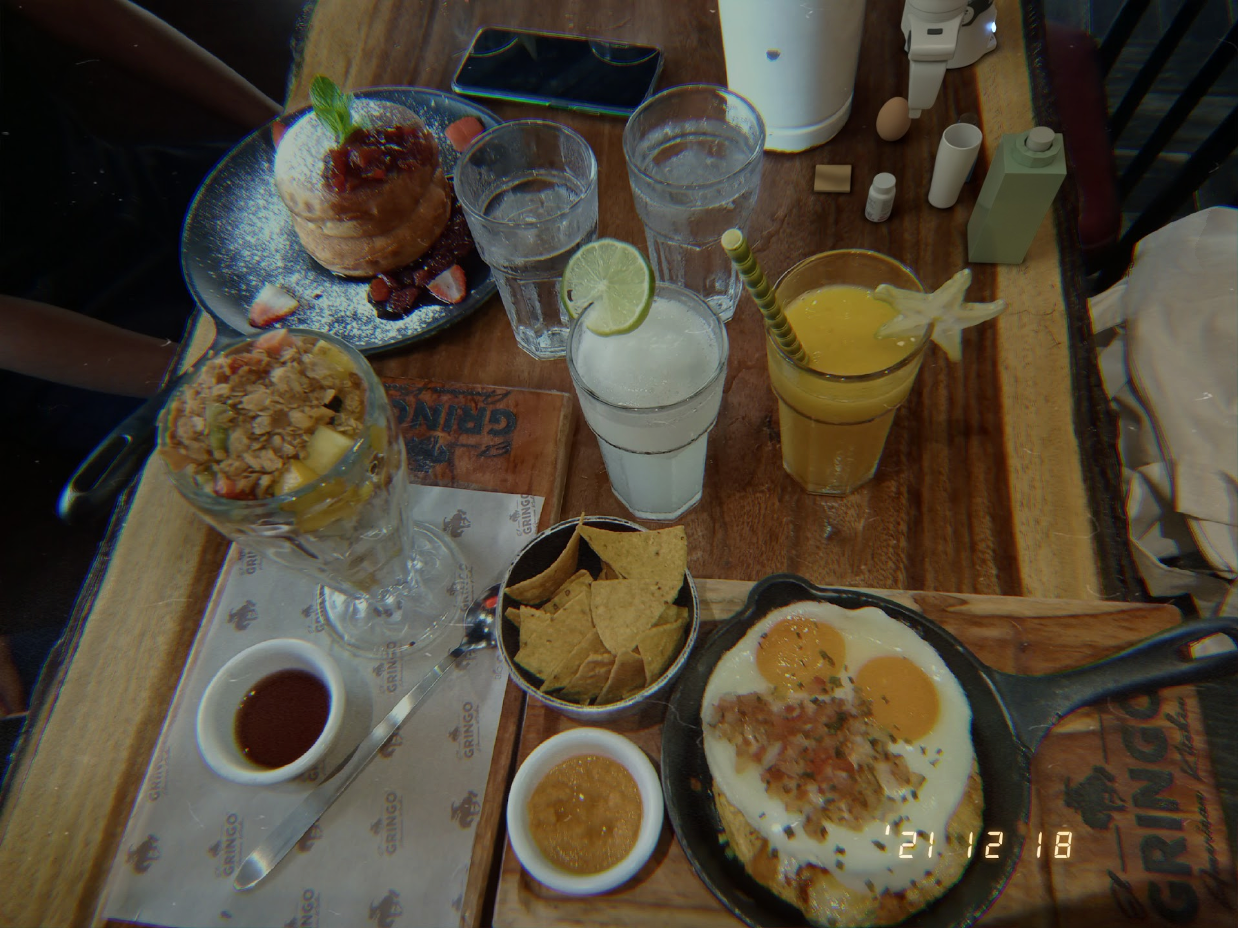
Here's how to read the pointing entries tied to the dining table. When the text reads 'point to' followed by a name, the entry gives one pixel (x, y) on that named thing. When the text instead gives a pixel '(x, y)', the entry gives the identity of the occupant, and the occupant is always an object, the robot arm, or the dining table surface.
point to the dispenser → (1014, 199)
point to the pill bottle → (880, 197)
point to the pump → (1040, 139)
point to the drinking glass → (953, 163)
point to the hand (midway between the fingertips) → (914, 96)
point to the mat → (832, 178)
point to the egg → (893, 119)
